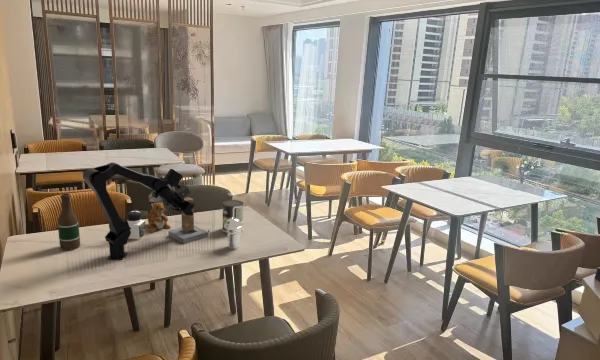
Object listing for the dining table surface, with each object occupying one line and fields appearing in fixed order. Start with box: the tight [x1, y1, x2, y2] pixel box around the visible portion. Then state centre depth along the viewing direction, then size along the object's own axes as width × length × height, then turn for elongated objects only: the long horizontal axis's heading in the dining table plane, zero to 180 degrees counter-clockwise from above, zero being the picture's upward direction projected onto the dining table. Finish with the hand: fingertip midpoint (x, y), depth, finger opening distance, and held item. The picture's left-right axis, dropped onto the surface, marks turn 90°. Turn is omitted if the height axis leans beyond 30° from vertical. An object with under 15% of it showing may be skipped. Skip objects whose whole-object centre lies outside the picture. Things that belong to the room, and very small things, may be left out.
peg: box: [180, 196, 195, 232], centre depth 199 cm, size 4×4×15 cm
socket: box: [168, 225, 209, 245], centre depth 201 cm, size 13×13×2 cm
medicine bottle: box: [126, 210, 146, 241], centre depth 197 cm, size 7×7×12 cm
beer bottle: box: [57, 193, 81, 251], centre depth 181 cm, size 8×8×24 cm
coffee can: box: [221, 199, 245, 234], centre depth 210 cm, size 10×10×14 cm
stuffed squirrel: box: [147, 202, 171, 233], centre depth 210 cm, size 10×14×13 cm
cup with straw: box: [224, 205, 246, 250], centre depth 189 cm, size 8×9×20 cm
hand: (190, 213), depth 199 cm, fingers closed on peg, 4 cm apart
